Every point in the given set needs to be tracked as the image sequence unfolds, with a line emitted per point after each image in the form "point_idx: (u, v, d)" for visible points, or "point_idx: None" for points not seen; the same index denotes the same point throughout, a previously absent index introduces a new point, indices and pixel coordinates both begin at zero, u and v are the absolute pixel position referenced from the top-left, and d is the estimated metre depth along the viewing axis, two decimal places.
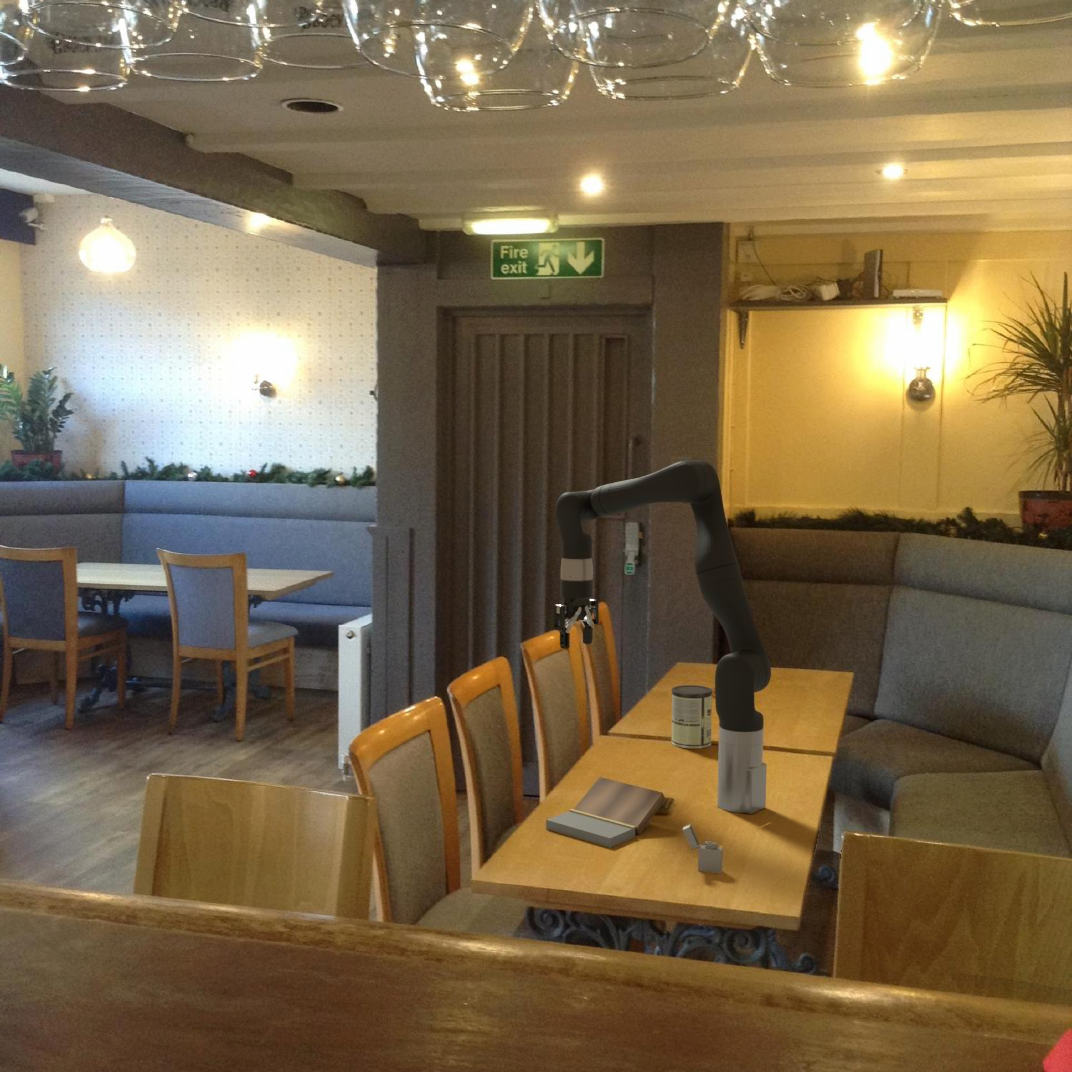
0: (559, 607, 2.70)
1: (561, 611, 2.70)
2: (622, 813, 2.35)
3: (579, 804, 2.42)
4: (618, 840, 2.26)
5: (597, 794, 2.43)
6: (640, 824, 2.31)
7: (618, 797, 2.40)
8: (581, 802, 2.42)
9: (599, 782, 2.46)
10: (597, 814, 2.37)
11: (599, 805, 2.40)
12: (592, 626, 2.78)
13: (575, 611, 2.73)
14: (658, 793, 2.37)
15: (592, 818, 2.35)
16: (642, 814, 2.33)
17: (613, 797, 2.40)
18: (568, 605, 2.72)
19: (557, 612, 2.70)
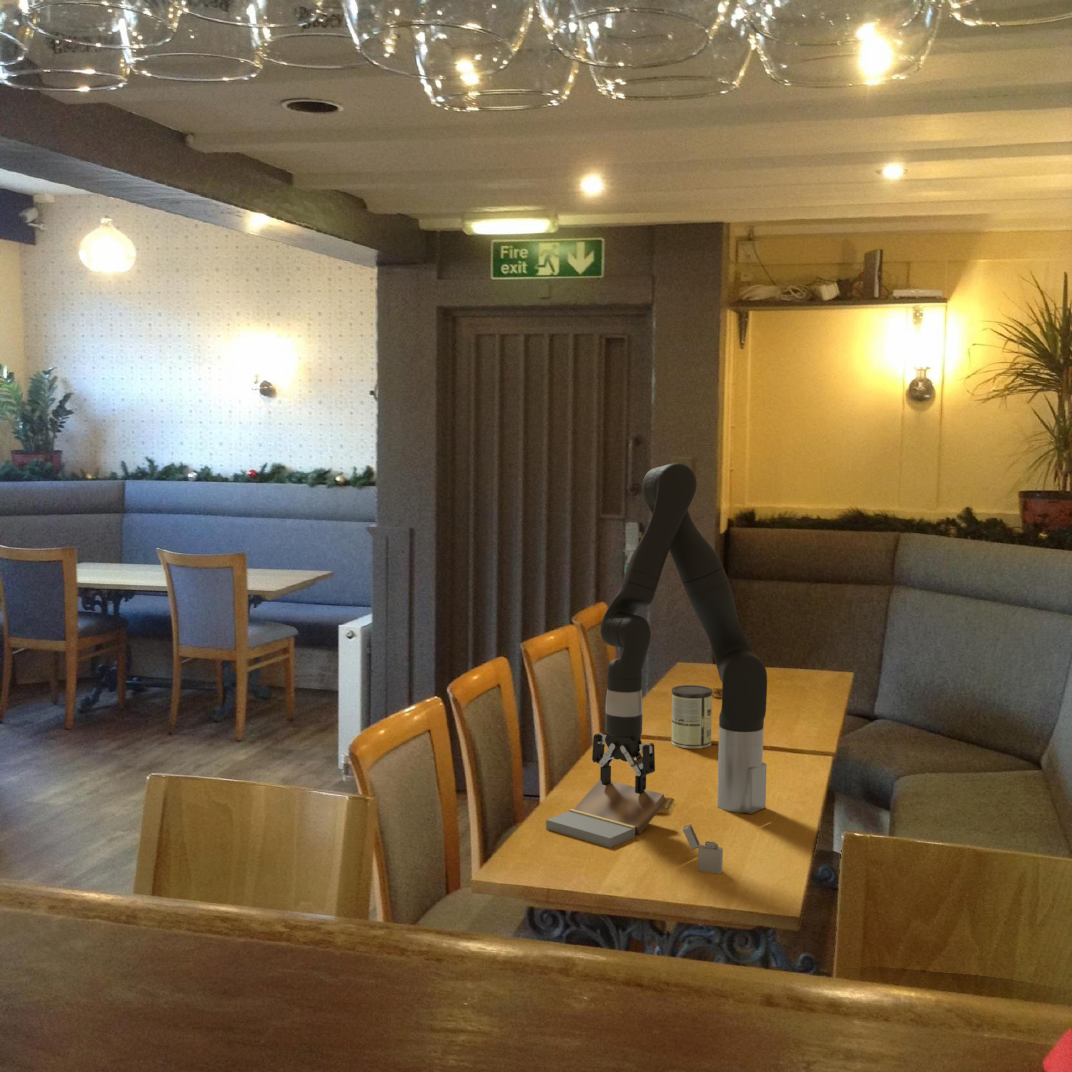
0: (651, 746, 2.37)
1: (653, 750, 2.37)
2: (622, 813, 2.35)
3: (579, 804, 2.42)
4: (618, 840, 2.26)
5: (597, 794, 2.43)
6: (640, 824, 2.32)
7: (618, 798, 2.40)
8: (581, 802, 2.42)
9: (600, 783, 2.46)
10: (597, 814, 2.37)
11: (599, 805, 2.40)
12: None
13: None
14: (659, 794, 2.37)
15: (592, 818, 2.35)
16: (643, 815, 2.33)
17: (614, 798, 2.40)
18: (641, 743, 2.39)
19: (650, 753, 2.36)
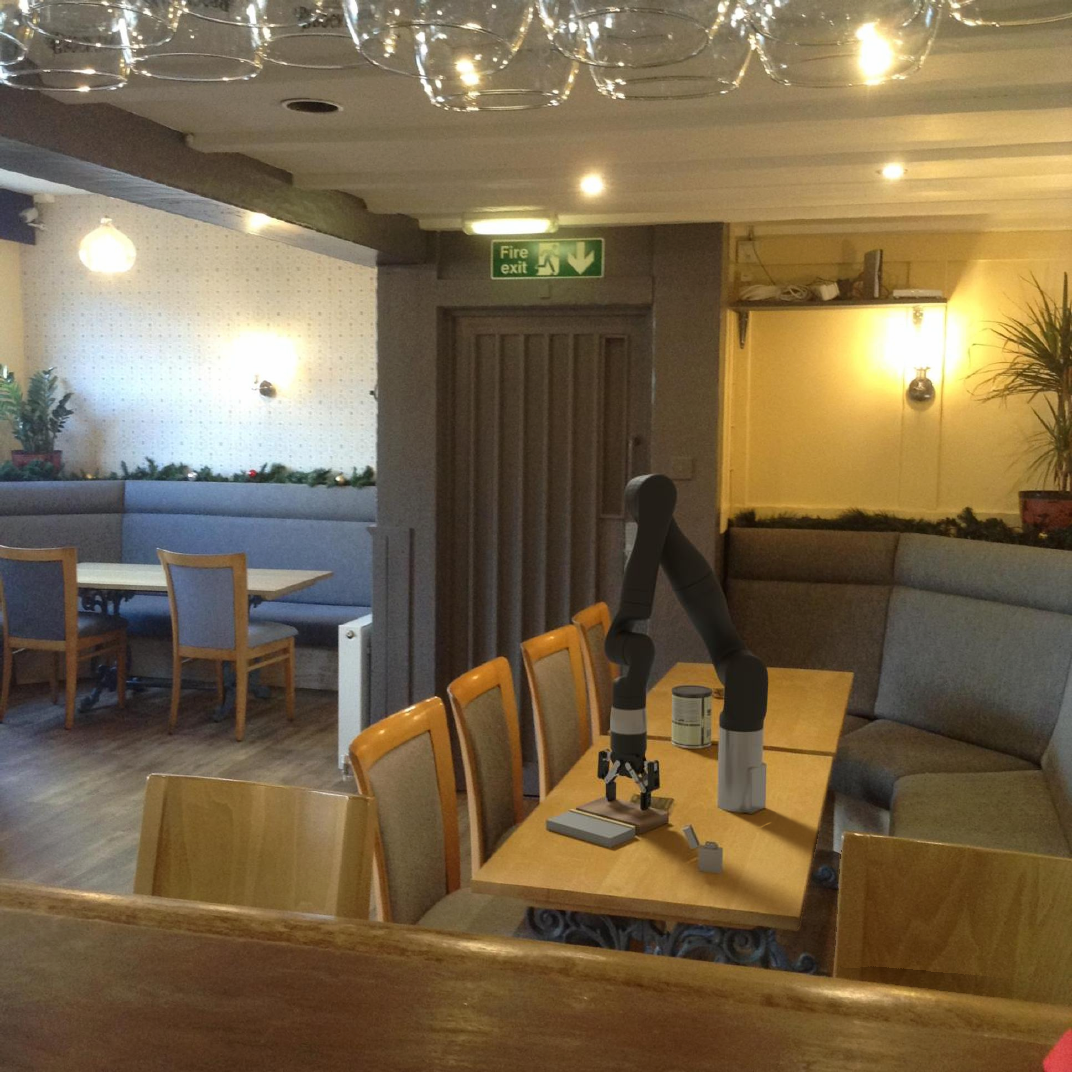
0: (656, 763, 2.38)
1: (658, 767, 2.39)
2: (626, 816, 2.36)
3: (583, 805, 2.43)
4: (618, 840, 2.26)
5: (601, 803, 2.44)
6: (643, 825, 2.32)
7: (623, 808, 2.41)
8: (585, 805, 2.43)
9: (605, 798, 2.47)
10: (600, 813, 2.38)
11: (603, 809, 2.41)
12: None
13: None
14: (664, 812, 2.39)
15: (592, 818, 2.35)
16: (646, 819, 2.34)
17: (618, 807, 2.42)
18: None
19: (655, 770, 2.38)
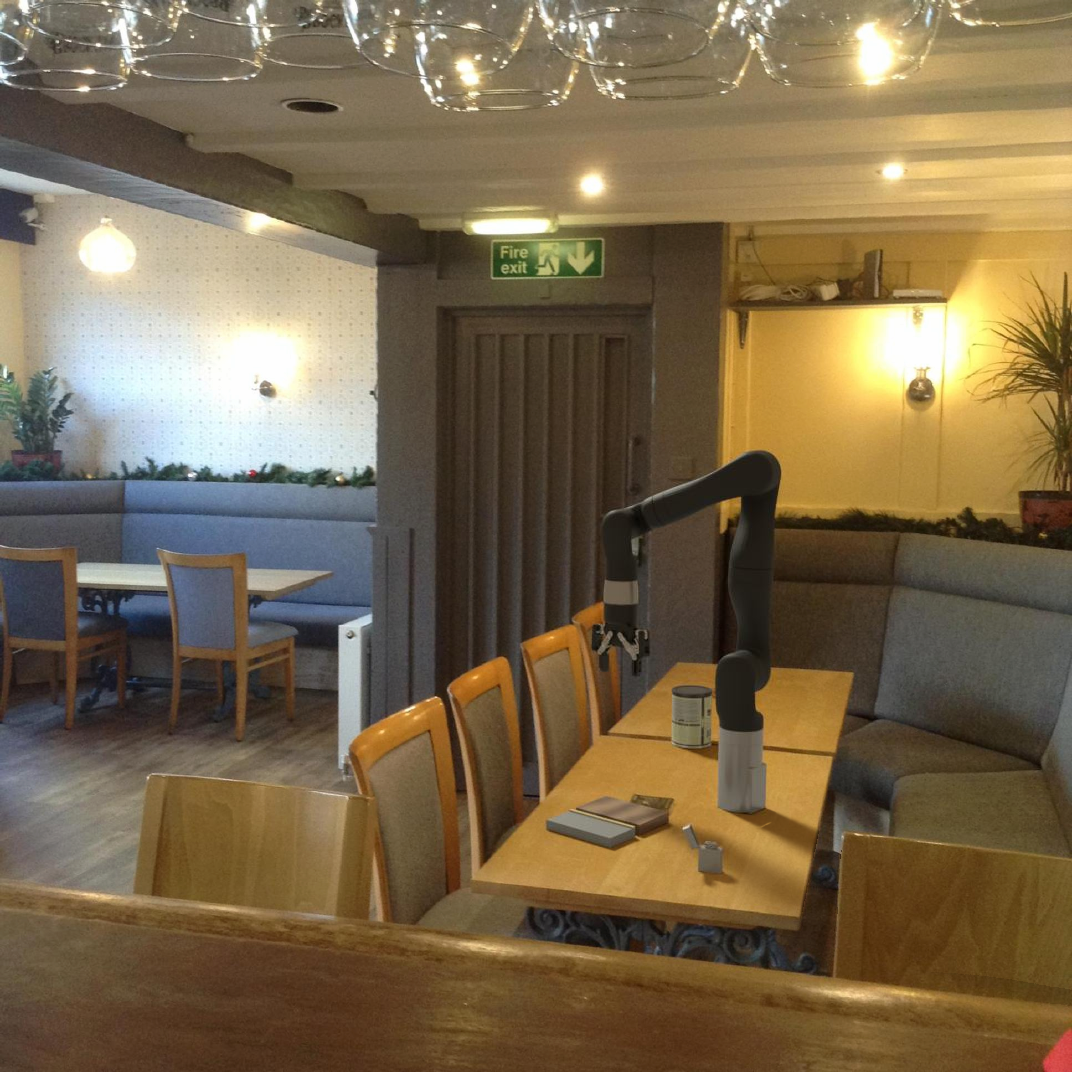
0: (646, 632, 2.54)
1: (648, 636, 2.54)
2: (626, 816, 2.36)
3: (583, 805, 2.43)
4: (618, 840, 2.26)
5: (601, 803, 2.44)
6: (643, 825, 2.32)
7: (623, 808, 2.41)
8: (585, 805, 2.43)
9: (605, 798, 2.47)
10: (600, 813, 2.38)
11: (603, 809, 2.41)
12: None
13: None
14: (664, 812, 2.39)
15: (592, 818, 2.35)
16: (647, 819, 2.34)
17: (618, 807, 2.42)
18: (637, 629, 2.56)
19: (645, 638, 2.53)
